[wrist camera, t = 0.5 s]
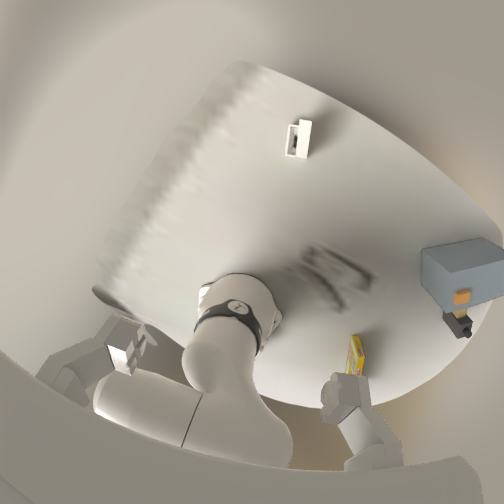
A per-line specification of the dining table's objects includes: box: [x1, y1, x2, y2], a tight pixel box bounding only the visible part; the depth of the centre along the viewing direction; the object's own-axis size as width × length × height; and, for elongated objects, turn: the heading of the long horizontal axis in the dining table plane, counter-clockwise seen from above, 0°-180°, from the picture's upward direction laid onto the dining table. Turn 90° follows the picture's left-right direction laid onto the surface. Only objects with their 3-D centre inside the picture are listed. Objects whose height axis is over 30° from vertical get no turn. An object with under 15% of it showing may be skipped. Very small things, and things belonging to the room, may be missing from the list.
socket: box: [421, 238, 504, 313], centre depth 41 cm, size 8×18×14 cm, turn 102°
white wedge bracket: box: [285, 119, 312, 159], centre depth 43 cm, size 4×10×9 cm, turn 174°
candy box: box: [345, 335, 365, 376], centre depth 56 cm, size 16×2×8 cm, turn 4°
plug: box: [443, 308, 473, 339], centre depth 46 cm, size 8×4×11 cm, turn 12°
